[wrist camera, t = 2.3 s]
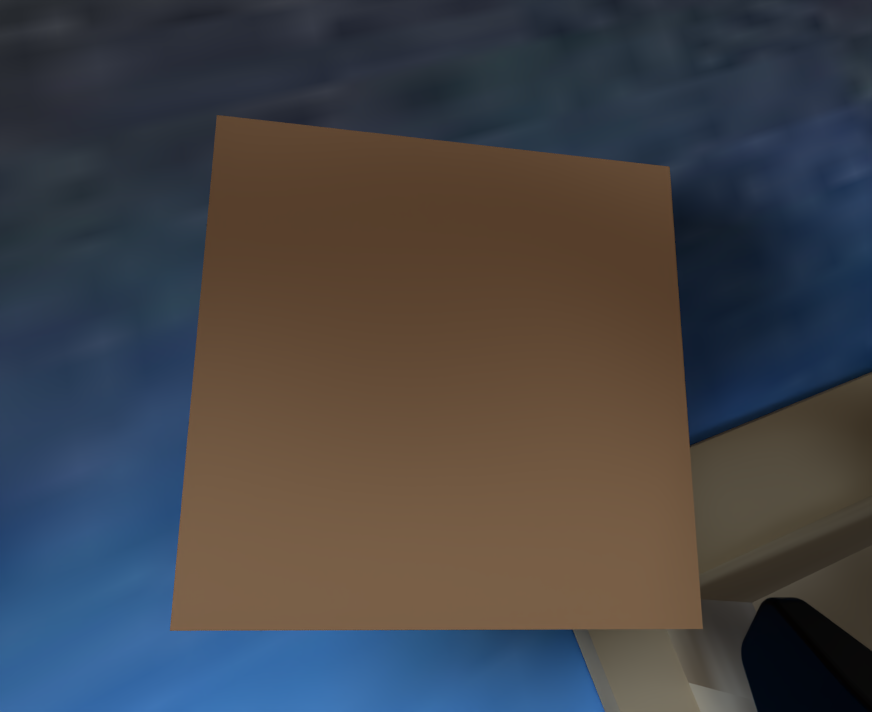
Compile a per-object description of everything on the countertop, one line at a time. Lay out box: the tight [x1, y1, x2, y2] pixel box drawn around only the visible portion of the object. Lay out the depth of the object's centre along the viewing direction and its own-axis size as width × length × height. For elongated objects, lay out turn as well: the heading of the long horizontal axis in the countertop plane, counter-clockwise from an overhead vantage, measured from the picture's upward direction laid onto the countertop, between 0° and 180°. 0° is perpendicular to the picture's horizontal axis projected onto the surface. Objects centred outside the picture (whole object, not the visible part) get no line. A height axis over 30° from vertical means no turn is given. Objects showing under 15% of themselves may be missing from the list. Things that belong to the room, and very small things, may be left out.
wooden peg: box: [170, 115, 703, 631], centre depth 13 cm, size 4×4×12 cm
